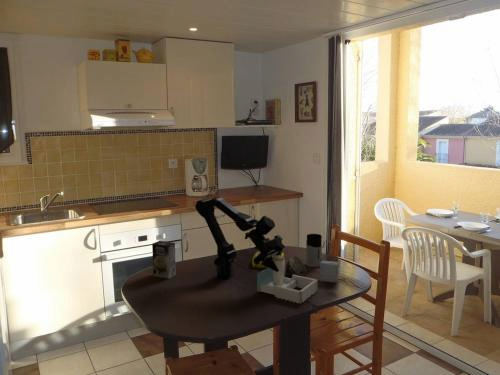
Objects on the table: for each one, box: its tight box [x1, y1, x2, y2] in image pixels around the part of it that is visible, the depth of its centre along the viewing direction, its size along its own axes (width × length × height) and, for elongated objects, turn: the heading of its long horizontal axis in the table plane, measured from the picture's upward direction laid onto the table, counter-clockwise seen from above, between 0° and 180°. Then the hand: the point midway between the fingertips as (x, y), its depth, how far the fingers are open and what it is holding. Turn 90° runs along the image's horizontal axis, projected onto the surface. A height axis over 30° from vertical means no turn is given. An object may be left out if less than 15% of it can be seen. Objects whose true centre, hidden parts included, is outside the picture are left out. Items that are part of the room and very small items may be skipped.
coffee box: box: [151, 240, 177, 279], centre depth 207 cm, size 9×6×16 cm
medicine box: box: [319, 260, 340, 284], centre depth 200 cm, size 8×4×9 cm, turn 71°
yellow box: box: [251, 250, 285, 269], centre depth 225 cm, size 15×15×5 cm
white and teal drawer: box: [256, 268, 297, 296], centre depth 190 cm, size 12×15×8 cm
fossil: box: [285, 255, 308, 277], centre depth 209 cm, size 11×9×10 cm
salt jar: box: [272, 255, 286, 286], centre depth 189 cm, size 5×5×12 cm
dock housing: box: [274, 274, 319, 305], centre depth 185 cm, size 12×16×5 cm
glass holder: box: [304, 233, 333, 268], centre depth 221 cm, size 9×14×15 cm, turn 54°
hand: (281, 269), depth 189 cm, fingers closed on salt jar, 5 cm apart
